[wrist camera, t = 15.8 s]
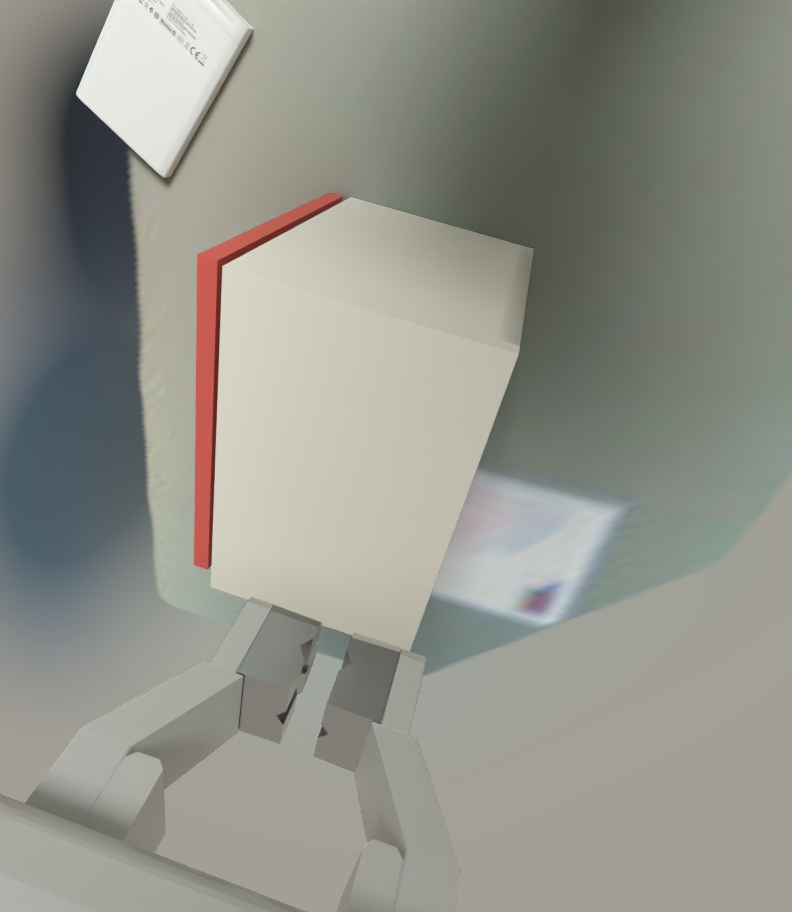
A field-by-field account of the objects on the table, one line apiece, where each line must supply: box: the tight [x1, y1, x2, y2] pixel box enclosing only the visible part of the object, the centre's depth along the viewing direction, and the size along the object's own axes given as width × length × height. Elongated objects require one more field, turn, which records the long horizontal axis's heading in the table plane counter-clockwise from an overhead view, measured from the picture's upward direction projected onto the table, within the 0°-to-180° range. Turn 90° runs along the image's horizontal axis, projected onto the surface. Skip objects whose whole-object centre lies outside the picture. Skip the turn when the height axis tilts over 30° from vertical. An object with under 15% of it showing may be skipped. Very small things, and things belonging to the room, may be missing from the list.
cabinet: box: [211, 197, 534, 651], centre depth 40 cm, size 22×14×20 cm, turn 167°
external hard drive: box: [76, 0, 253, 178], centre depth 41 cm, size 2×8×12 cm
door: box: [194, 193, 343, 569], centre depth 41 cm, size 21×3×19 cm, turn 167°
